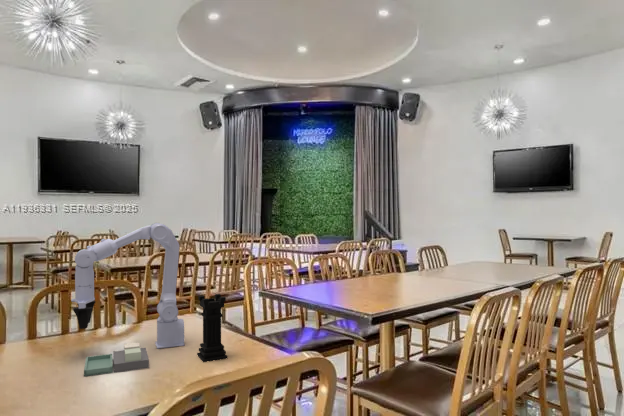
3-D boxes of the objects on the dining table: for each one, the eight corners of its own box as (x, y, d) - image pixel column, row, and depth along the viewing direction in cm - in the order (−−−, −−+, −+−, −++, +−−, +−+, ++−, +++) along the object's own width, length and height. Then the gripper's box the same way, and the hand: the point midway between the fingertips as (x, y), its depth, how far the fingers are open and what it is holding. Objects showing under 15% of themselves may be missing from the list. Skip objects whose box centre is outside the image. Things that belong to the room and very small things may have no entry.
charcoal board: (145, 354, 154) (145, 347, 154) (148, 367, 141) (148, 359, 141) (113, 359, 150) (113, 351, 150) (113, 372, 137) (113, 364, 137)
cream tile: (138, 349, 151) (138, 342, 151) (139, 353, 147) (139, 346, 147) (124, 351, 149) (124, 344, 149) (124, 355, 145) (124, 347, 145)
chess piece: (203, 362, 146) (202, 300, 146) (197, 355, 153) (197, 295, 153) (227, 358, 150) (227, 297, 150) (220, 351, 157) (220, 293, 157)
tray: (112, 359, 149) (112, 353, 149) (112, 372, 137) (112, 366, 137) (86, 362, 146) (86, 356, 146) (83, 376, 134) (83, 370, 134)
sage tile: (140, 355, 145) (140, 347, 145) (140, 360, 141) (140, 351, 141) (124, 357, 143) (124, 349, 143) (125, 362, 139) (125, 353, 139)
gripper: (74, 282, 159) (74, 321, 159) (67, 289, 145) (68, 332, 145) (96, 281, 161) (97, 319, 161) (92, 288, 148) (92, 330, 148)
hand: (84, 325), depth 154 cm, fingers open, 7 cm apart
